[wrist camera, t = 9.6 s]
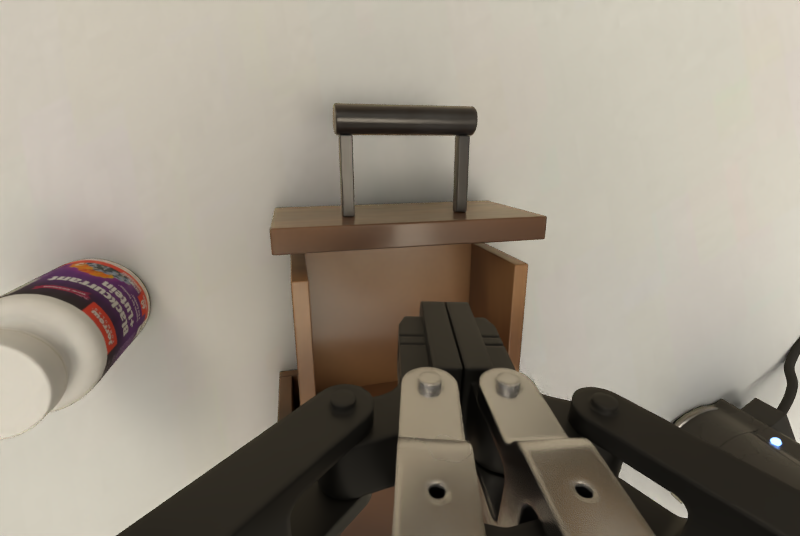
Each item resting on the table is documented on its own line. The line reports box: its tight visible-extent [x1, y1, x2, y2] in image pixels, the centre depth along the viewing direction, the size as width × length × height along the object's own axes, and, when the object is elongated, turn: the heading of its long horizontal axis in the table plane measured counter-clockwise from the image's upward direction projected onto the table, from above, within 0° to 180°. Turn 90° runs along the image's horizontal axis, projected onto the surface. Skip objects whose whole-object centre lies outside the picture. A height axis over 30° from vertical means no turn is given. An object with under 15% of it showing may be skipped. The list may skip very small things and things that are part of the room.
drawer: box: [270, 103, 547, 406], centre depth 24 cm, size 18×13×7 cm
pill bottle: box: [0, 259, 150, 440], centre depth 19 cm, size 5×5×10 cm
